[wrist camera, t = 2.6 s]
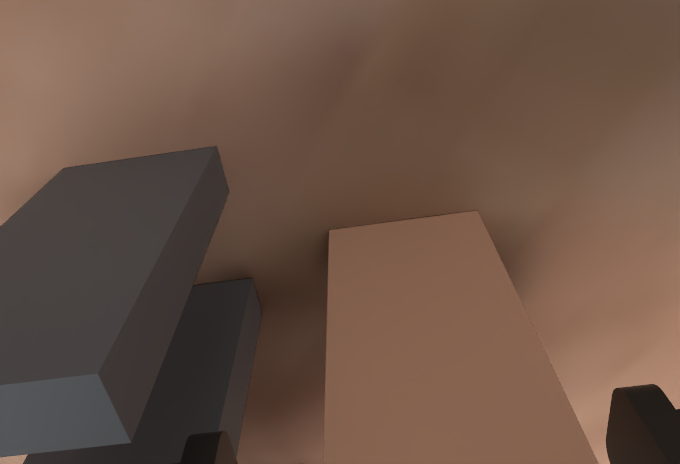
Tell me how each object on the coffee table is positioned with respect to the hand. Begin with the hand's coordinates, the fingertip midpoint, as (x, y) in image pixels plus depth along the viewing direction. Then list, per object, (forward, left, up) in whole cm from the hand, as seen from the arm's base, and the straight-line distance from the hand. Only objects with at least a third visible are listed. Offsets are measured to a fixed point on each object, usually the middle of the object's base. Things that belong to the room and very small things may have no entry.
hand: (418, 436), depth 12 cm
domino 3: (-1, 0, -9) cm, 9 cm away
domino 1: (+7, -3, -9) cm, 12 cm away
